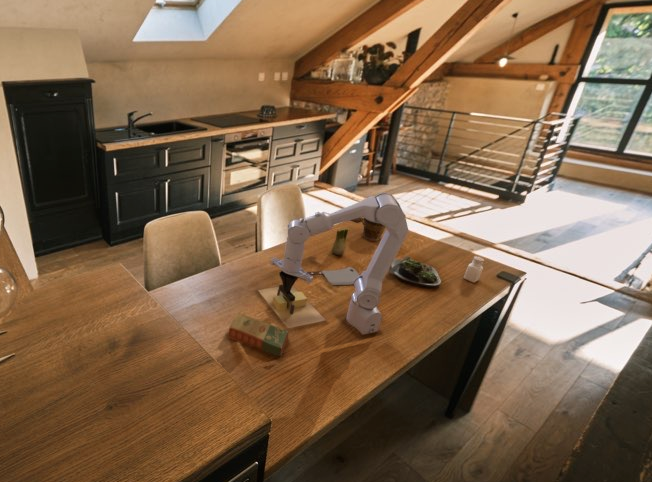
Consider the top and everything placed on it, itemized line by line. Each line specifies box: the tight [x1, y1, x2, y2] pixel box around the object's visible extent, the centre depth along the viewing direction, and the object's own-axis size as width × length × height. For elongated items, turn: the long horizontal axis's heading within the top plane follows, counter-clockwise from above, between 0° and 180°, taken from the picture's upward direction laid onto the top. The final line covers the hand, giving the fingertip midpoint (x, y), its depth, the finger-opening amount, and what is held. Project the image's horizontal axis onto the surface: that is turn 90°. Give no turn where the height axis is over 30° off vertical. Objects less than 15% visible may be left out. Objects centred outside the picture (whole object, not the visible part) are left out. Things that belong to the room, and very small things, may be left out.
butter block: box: [292, 291, 308, 308], centre depth 130 cm, size 4×7×3 cm, turn 107°
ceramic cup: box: [359, 217, 387, 242], centre depth 177 cm, size 13×10×10 cm
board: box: [257, 285, 327, 329], centre depth 129 cm, size 20×14×4 cm
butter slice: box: [272, 295, 287, 311], centre depth 128 cm, size 4×3×3 cm
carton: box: [227, 312, 289, 358], centre depth 115 cm, size 8×16×4 cm, turn 61°
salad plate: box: [388, 255, 442, 289], centre depth 151 cm, size 19×18×5 cm
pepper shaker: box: [463, 255, 485, 284], centre depth 146 cm, size 4×4×10 cm
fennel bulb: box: [330, 228, 349, 256], centre depth 161 cm, size 6×5×12 cm
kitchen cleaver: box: [306, 266, 361, 286], centre depth 147 cm, size 24×1×10 cm
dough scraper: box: [278, 284, 295, 311], centre depth 128 cm, size 7×2×6 cm, turn 17°
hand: (287, 290), depth 127 cm, fingers closed, pressing on dough scraper
